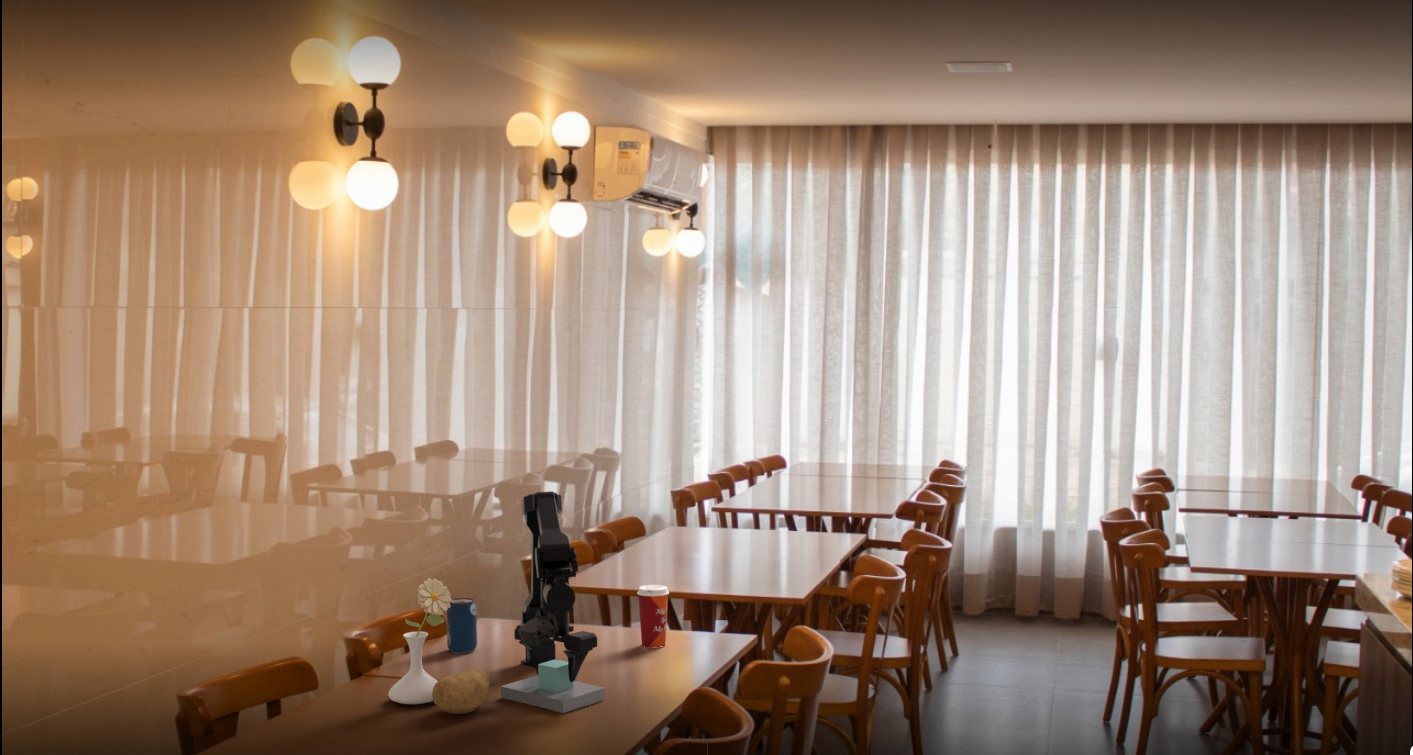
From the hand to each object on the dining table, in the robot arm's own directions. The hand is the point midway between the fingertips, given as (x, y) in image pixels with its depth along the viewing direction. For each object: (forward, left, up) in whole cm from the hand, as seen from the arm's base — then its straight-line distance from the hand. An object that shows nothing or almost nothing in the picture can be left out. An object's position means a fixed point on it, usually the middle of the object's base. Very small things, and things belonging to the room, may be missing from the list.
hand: (555, 677), depth 270 cm
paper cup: (-14, +47, -5) cm, 49 cm away
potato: (-9, -17, -5) cm, 20 cm away
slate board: (-1, 0, -4) cm, 5 cm away
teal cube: (0, 0, -2) cm, 2 cm away
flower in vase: (-22, -17, -5) cm, 28 cm away
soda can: (-47, +16, -5) cm, 50 cm away
